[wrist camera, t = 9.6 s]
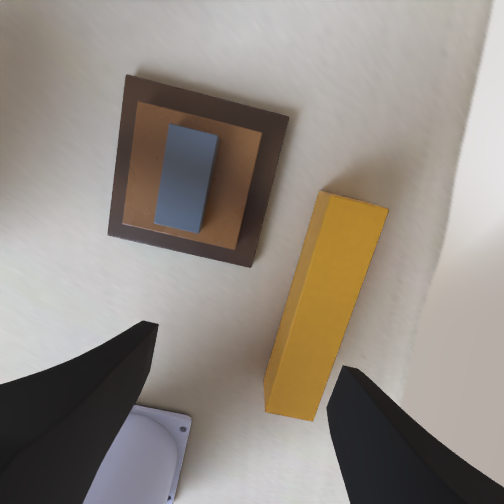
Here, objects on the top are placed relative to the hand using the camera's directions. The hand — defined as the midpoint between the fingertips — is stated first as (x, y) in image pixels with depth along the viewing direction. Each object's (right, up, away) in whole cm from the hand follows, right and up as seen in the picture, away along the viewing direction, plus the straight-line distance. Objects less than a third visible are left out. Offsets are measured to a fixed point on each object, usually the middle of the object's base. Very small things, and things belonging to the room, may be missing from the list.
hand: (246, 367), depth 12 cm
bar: (+4, +1, +9) cm, 10 cm away
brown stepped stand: (-3, +9, +7) cm, 12 cm away
